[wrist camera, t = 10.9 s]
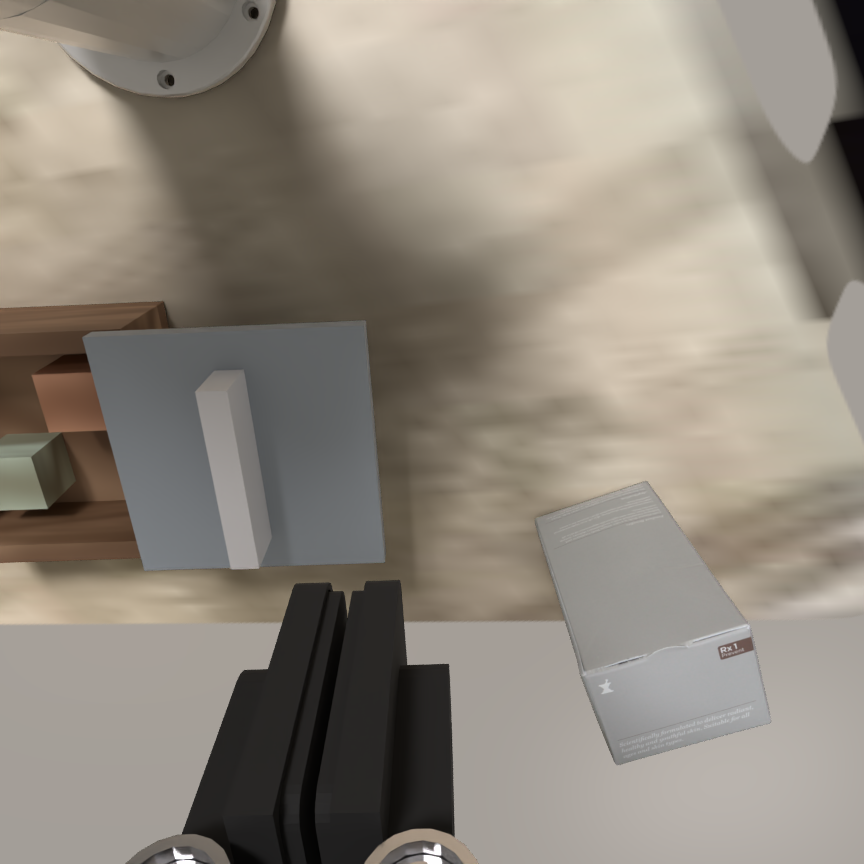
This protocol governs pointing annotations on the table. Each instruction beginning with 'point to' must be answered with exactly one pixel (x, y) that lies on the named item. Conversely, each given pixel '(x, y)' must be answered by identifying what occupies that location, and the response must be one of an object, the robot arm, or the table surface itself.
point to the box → (60, 436)
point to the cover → (244, 443)
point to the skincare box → (650, 626)
